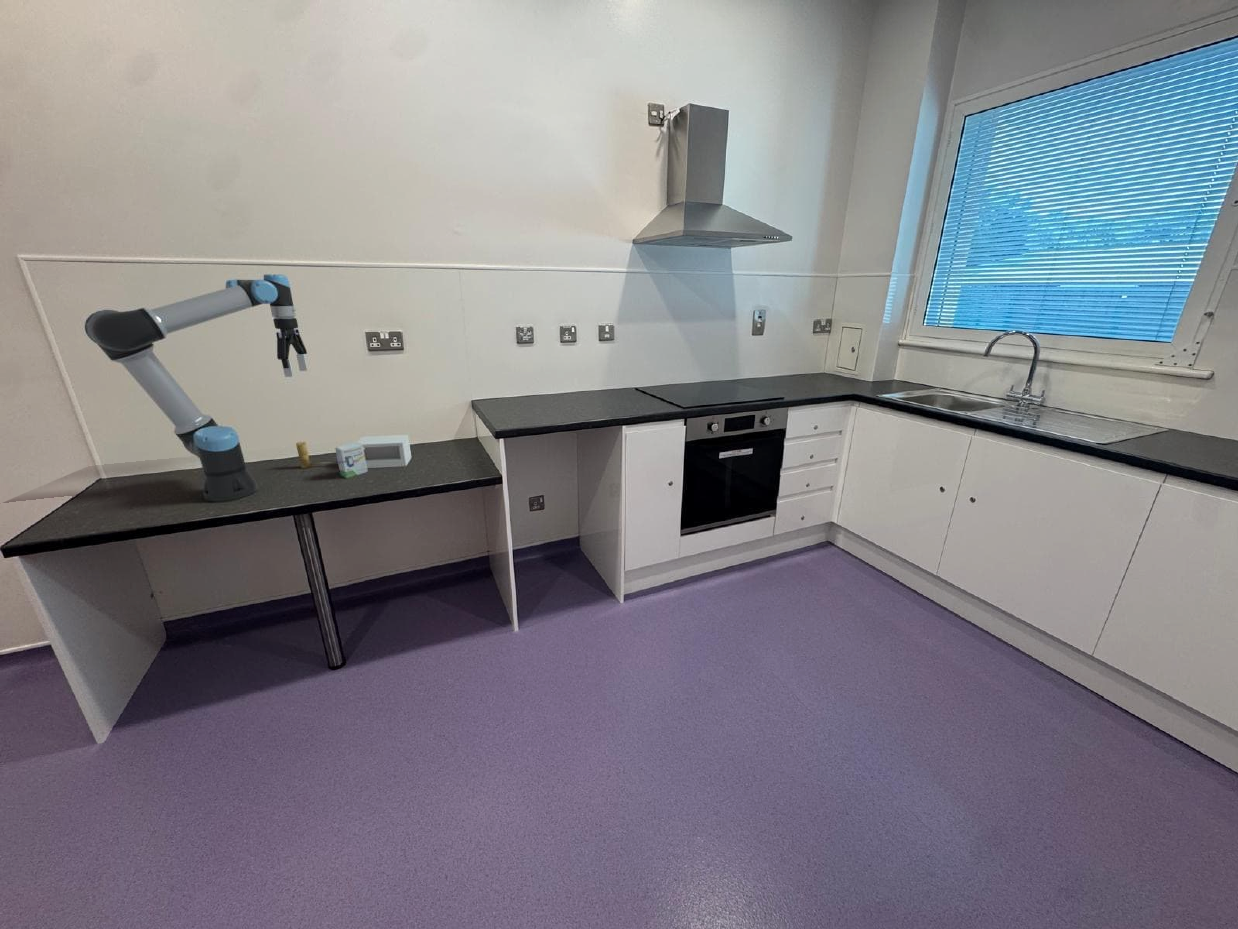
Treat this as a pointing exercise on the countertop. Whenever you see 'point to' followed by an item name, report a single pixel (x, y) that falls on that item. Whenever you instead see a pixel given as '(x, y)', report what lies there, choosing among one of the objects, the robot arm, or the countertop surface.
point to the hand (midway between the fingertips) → (296, 373)
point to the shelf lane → (386, 450)
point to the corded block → (306, 456)
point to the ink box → (351, 459)
